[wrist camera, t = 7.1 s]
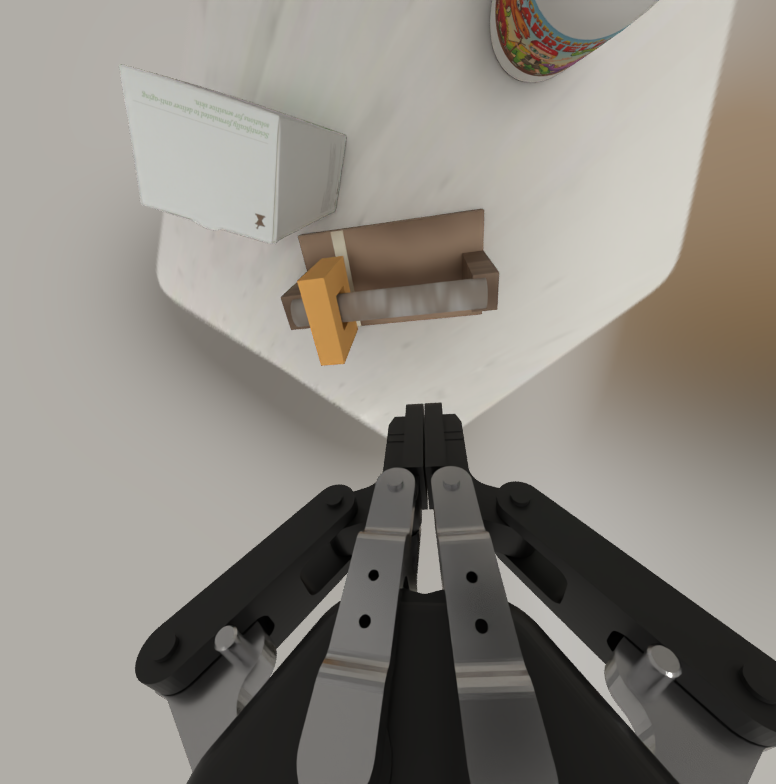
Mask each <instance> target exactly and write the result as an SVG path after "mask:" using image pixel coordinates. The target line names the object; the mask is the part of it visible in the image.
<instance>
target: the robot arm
mask: <svg viewBox="0 0 776 784" xmlns="http://www.w3.org/2000/svg"><path fill="white" fill-rule="evenodd" d="M427 490H428V497H427ZM428 499H429V509H434V519H435V530H436V538H437V547H438V555H439V563H440V572H441V580H442V590H439V591H435V592H432V593H428V594H421V593H418V592H417V573H418V561H419V549H420V548H419V547H420V537H421V523H422V510H424V509H428V503H427V502H428ZM495 554H496V555H497V556H498V558H499V559H500V560H501V561H502V562H503V563H504V564H505V565H506V566H507V567H508V568H509V569H510V570H511V571H512V572H513V573H514V574H515V575H516V576H517V577H518V578H519V579H520V580H521V581H522V582H523V583H524V584H525V585H526V586H527V587H528V588H529V589H530V590H531V591H532V592H533V593H534V594H535V595H536V596H537V597H538V598H539V599H540V600H541V601H542V602H543V603H544V604H545V605H546V606H547V607H548V608H549V609H550V610H551V611H553V613H554V614H555V615H556V616H557V617H558V618H560V619H561V621H563V622H564V623H565V624H566V625H567V626H568V627H569V628H570V629H571V630H572V631H573V632H574V633H575V634H576V635H577V636H578V637H579V638H580V639H581V640H582V641H583V642H584V643H585V644H586V645H587V646H588V647H589V648H590V649H591V650H592V651H593V652H594V653H595V654H596V655H597V656H598V657H599V658H600V659H601V660H602V661H603V662H604V663H605V664H606V665H605V670H604V674H605V680H606V684H607V687H608V690H609V692H610V694H611V696H612V697H613V699H614V700H615V702H616V703H617V704H618V706H619V707H620V708H621V710H622V711H623V712H624V713H625V715H626V716H627V718H628V719H629V721H630V723H631V725H632V727H633V728H634V731H635V733H634V732H633V731H632V730H631V728H630V727H629V726H628V725H627V724H626V723H625V722H624V720H623V719H622V718H621V717H620V716H619V715H618V714H617V713H616V712H615V711H614V709H613V708H612V707H611V706H610V705H609V704H608V703H607V702H606V700H605V699H604V698H603V697H602V696H601V695H600V694H599V692H598V691H596V689H595V688H594V687H593V686H592V685H591V684H590V683H589V681H588V680H587V679H586V678H585V677H584V676H583V675H582V673H581V672H580V671H579V670H578V669H577V668H576V667H575V666H574V664H573V663H572V662H571V661H570V660H569V659H568V658H567V657H566V656H565V654H564V653H563V652H562V651H561V650H560V649H559V648H558V647H557V645H556V644H555V643H554V642H553V641H552V640H551V639H550V638H549V636H548V635H547V634H546V633H545V632H544V631H543V630H542V629H541V628H540V626H539V625H538V624H537V623H536V622H535V621H534V620H533V619H532V618H530V617H529V616H528V615H527V614H526V613H525V612H523V611H522V610H520V609H519V608H518V607H516V606H514V605H513V604H511V603H509V602H508V601H507V597H506V593H505V590H504V586H503V582H502V578H501V574H500V571H499V567H498V563H497V559H496V556H495ZM347 573H348V574H347ZM346 574H347V578H346V582H345V586H344V590H343V594H342V598H341V601H339V602H338V603H337V604H335V605H334V606H333V607H331V608H330V609H329V610H328V611H327V612H326V613H325V614H324V615H323V616H322V617H321V618H320V619H319V621H318V622H317V623H316V624H315V625H314V626H313V628H312V629H311V630H310V631H309V632H308V634H307V635H306V636H305V637H304V638H303V639H302V641H301V642H300V643H299V644H298V645H297V646H296V648H295V649H294V650H293V651H292V652H291V653H290V655H289V656H288V657H287V658H286V659H285V661H284V662H283V663H282V664H281V665H280V666H279V667H278V669H277V670H276V671H275V672H274V673H273V675H272V676H271V674H272V672H273V669H274V667H275V663H276V656H277V651H276V649H277V648H278V647H279V646H280V645H281V643H282V642H283V641H284V640H285V639H286V638H287V637H288V636H289V635H290V634H291V633H292V632H293V631H294V630H295V629H296V627H297V626H298V625H299V624H300V623H301V622H302V621H303V620H304V619H305V618H306V617H307V616H308V615H309V614H310V612H311V611H312V610H313V609H314V608H315V607H316V606H317V605H318V604H319V603H320V602H321V601H322V600H323V599H324V597H326V595H327V594H328V593H329V592H330V591H331V590H332V589H333V588H334V587H335V586H336V585H337V584H338V583H339V582H340V580H341V579H342V578H343V577H344V576H345V575H346ZM135 673H136V676H137V678H138V680H139V681H140V682H141V683H143V684H145V685H147V686H148V687H150V688H152V689H153V690H155V692H156V693H157V694H158V695H159V696H161V697H163V698H164V699H166V700H167V701H168V703H169V706H170V709H171V712H172V715H173V717H174V720H175V723H176V726H177V729H178V731H179V734H180V738H181V740H182V743H183V746H184V749H185V752H186V755H187V758H188V760H189V763H190V766H191V769H192V772H193V773H192V774H191V777H190V778H189V780H188V782H187V784H748V782H749V780H750V778H751V775H752V773H753V771H754V769H755V767H756V764H757V762H758V760H759V758H760V756H761V754H762V752H764V751H767V750H769V749H771V748H774V747H776V661H775V660H773V659H772V658H771V657H769V656H768V655H767V654H765V653H764V652H762V651H761V650H760V649H758V648H757V647H755V646H754V645H753V644H751V643H750V642H748V641H747V640H745V639H744V638H743V637H742V636H740V635H739V634H737V633H736V632H734V631H733V630H732V629H730V628H729V627H728V626H726V625H725V624H723V623H722V622H721V621H719V620H718V619H717V618H715V617H714V616H712V615H711V614H709V613H708V612H706V611H705V610H704V609H703V608H701V607H700V606H698V605H697V604H696V603H694V602H693V601H691V600H690V599H688V598H687V597H686V596H685V595H683V594H682V593H680V592H679V591H677V590H676V589H675V588H673V587H672V586H671V585H669V584H667V583H666V582H665V581H664V580H662V579H661V578H659V577H658V576H656V575H655V574H654V573H652V572H651V571H650V570H648V569H647V568H646V567H644V566H643V565H641V564H640V563H639V562H637V561H636V560H634V559H633V558H632V557H630V556H629V555H627V554H626V553H625V552H623V551H622V550H620V549H619V548H618V547H616V546H615V545H613V544H612V543H611V542H609V541H608V540H607V539H605V538H604V537H602V536H601V535H599V534H598V533H597V532H595V531H594V530H593V529H591V528H590V527H589V526H587V525H586V524H584V523H583V522H581V521H580V520H579V519H577V518H576V517H575V516H573V515H572V514H570V513H569V512H568V511H566V510H565V509H563V508H562V507H560V506H559V505H558V504H557V503H555V502H554V501H552V500H551V499H549V498H548V497H547V496H545V495H544V494H543V493H541V492H540V491H538V490H537V489H535V488H534V487H533V486H531V485H528V484H527V483H523V482H516V481H515V482H508V483H506V484H504V485H502V486H501V487H500V488H496V487H492V486H488V485H485V484H483V483H481V482H479V481H477V480H476V479H475V478H474V477H473V476H472V475H471V473H470V471H469V468H468V462H467V455H466V449H465V442H464V436H463V429H462V423H461V421H460V419H459V418H458V417H457V416H456V414H442V403H425V416H424V406H423V404H408V405H406V414H405V417H394V419H393V420H392V422H391V423H390V424H389V428H388V436H387V444H386V452H385V460H384V468H383V473H382V474H380V476H379V477H378V479H377V481H376V483H374V484H373V485H371V486H369V487H367V488H364V489H361V490H357V491H354V492H353V491H352V489H351V488H349V487H348V486H345V485H333V486H330V487H328V488H326V489H324V490H323V491H322V492H321V493H319V494H318V495H317V496H316V497H315V498H313V499H312V500H311V501H310V502H309V503H308V504H306V505H305V506H304V507H303V508H301V509H300V510H299V511H298V512H297V513H295V514H294V515H293V516H292V517H291V518H289V519H288V520H287V521H286V522H285V523H283V524H282V525H281V526H280V527H279V528H277V529H276V530H275V531H274V532H273V533H271V534H270V535H269V536H268V537H267V538H265V539H264V540H263V541H262V542H261V543H260V544H258V545H257V546H256V547H255V548H253V549H252V550H251V551H250V552H249V553H247V554H246V555H245V556H244V557H243V558H242V559H240V560H239V561H238V562H237V563H235V564H234V565H233V566H232V567H231V568H229V569H228V570H227V571H226V572H225V573H224V574H222V575H221V576H220V577H219V578H217V579H216V580H215V581H214V582H213V583H211V584H210V585H209V586H208V587H207V588H205V589H204V590H203V591H202V592H200V593H199V594H198V595H197V596H196V597H195V598H193V599H192V600H191V601H190V602H189V603H187V604H186V605H185V606H184V607H182V608H181V609H180V610H179V611H178V612H176V613H175V614H174V615H173V616H172V617H171V618H169V619H168V620H167V621H166V622H164V623H163V624H162V625H161V626H160V627H158V629H156V630H155V631H154V632H153V633H152V634H151V635H150V636H149V638H148V639H147V640H146V642H145V644H144V645H143V647H142V648H141V650H140V652H139V654H138V657H137V660H136V665H135ZM270 676H271V677H270Z"/></svg>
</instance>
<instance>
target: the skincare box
mask: <svg viewBox="0 0 776 784" xmlns="http://www.w3.org/2000/svg"><path fill="white" fill-rule="evenodd" d="M119 70H120V75H121V82H122V88H123V94H124V100H125V106H126V112H127V118H128V124H129V131H130V137H131V144H132V149H133V156H134V162H135V169H136V175H137V182H138V188H139V194H140V201H141V204H142V205H143V206H147V207H151V208H154V209H157V210H161V211H163V212H166V213H169V214H172V215H175V216H179V217H182V218H185V219H188V220H191V221H194V222H196V223H197V224H199V225H200V226H202V227H204V228H206V229H210V230H225V231H228V232H231V233H235V234H238V235H241V236H244V237H248V238H252V239H255V240H258V241H262V242H265V243H270V244H274V243H277V242H278V241H279V240H280V239H282V238H284V237H286V236H288V235H290V234H292V233H294V232H295V231H297V230H299V229H301V228H303V227H305V226H307V225H309V224H311V223H313V222H315V221H317V220H319V219H320V218H322V217H324V216H326V215H328V214H331V213H333V212H335V210H336V204H337V198H338V192H339V185H340V178H341V172H342V165H343V158H344V151H345V144H346V135H344V134H341V133H338V132H336V131H333V130H330V129H327V128H324V127H321V126H318V125H316V124H313V123H310V122H307V121H304V120H301V119H298V118H295V117H292V116H289V115H286V114H284V113H281V112H278V111H275V110H272V109H269V108H266V107H263V106H260V105H257V104H254V103H251V102H248V101H245V100H242V99H239V98H236V97H233V96H230V95H227V94H223V93H220V92H217V91H214V90H210V89H207V88H204V87H201V86H197V85H194V84H190V83H187V82H183V81H180V80H177V79H173V78H169V77H166V76H163V75H159V74H155V73H152V72H148V71H145V70H141V69H138V68H134V67H130V66H126V65H122V64H121V65H119Z"/></svg>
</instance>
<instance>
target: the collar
mask: <svg viewBox="0 0 776 784" xmlns="http://www.w3.org/2000/svg"><path fill="white" fill-rule="evenodd" d="M297 283H298V286H299V290H300V293H301V297H302V300H303V304H304V307H305V311H306V314H307V318H308V321H309V325H310V328H311V332H312V335H313V339H314V342H315V346H316V349H317V352H318V356H319V359H320V363H321V366H323V365H335V364H345V361H346V358H347V356H348V353H349V351H350V348H351V346H352V343H353V341H354V338H355V335H356V333H357V330H358V327H357V322H356V321H353V322H343V323H342V320H341V316H340V312H339V307H338V303H337V298H336V296H337V294H341V293H350V287H349V282H348V277H347V272H346V267H345V262H344V258H343V256H338V257H330V258H322V259H321V260H319V261H318V262H317V263H316V264H315V265H314V266H313V267H312V268H311V269H310V270H309V271H307V272H306V273H305V274H304V275H303V276H302V277H301V278H300V279H299V280H298V281H297Z"/></svg>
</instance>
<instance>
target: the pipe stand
mask: <svg viewBox="0 0 776 784" xmlns="http://www.w3.org/2000/svg"><path fill="white" fill-rule="evenodd" d="M483 238H484V209H477V210H470V211H463V212H456V213H449V214H442V215H435V216H428V217H421V218H414V219H407V220H400V221H393V222H386V223H379V224H372V225H365V226H358V227H351V228H344V229H337V230H330V231H323V232H316V233H309V234H302V235H300V236H298V239H299V242H300V246H301V250H302V254H303V258H304V261H305V265H306V269H307V271H309V270H310V269H311V268H312V267H313V266H314V265H315V264H316V263H317V262H318V261H319V260H321V259H322V258H330V257H338V256H343V258H344V262H345V267H346V272H347V277H348V282H349V287H350V293H341V294H337V296H336V298H337V303H338V307H339V312H340V316H341V320H342V323H343V322H353V321H356V322H357V327H360V326H365V325H375V324H385V323H396V322H406V321H416V320H427V319H437V318H447V317H457V316H468V315H478V314H482V311H488V310H497V304H498V284H499V272H498V270H497V269H496V267H495V266H494V265H493V263H492V262H491V261H490V259H489V258H488V256H487V255H486V254H485V252H484V251H483ZM281 300H282V303H283V306H284V309H285V312H286V316H287V319H288V322H289V325H290V328H291V330H295V329H305V328H310V325H309V321H308V318H307V314H306V311H305V307H304V304H303V300H302V297H301V293H300V290H299V286H298V283H296V284H294V285H293V286H292V287H291V288H290V289H289V290H288V291H287V292H286V293H285V294H284V295H283V296H282V297H281Z"/></svg>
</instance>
